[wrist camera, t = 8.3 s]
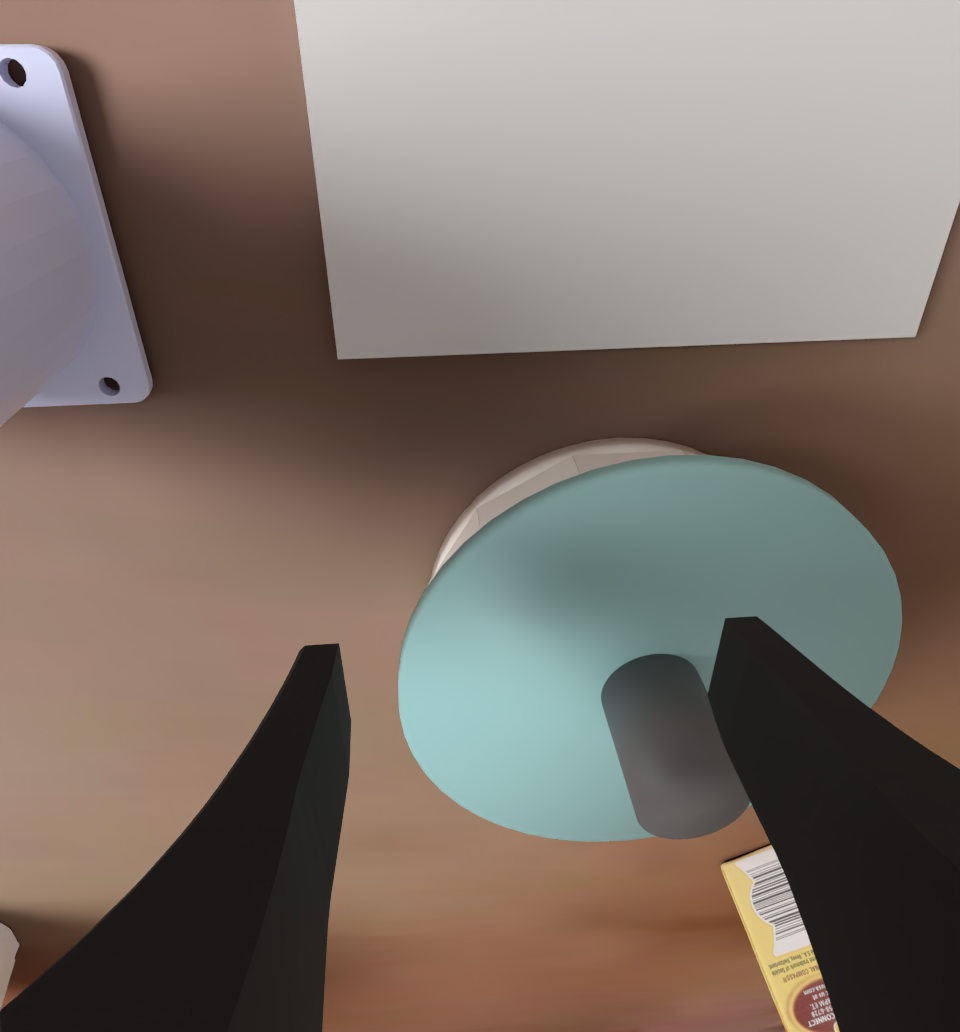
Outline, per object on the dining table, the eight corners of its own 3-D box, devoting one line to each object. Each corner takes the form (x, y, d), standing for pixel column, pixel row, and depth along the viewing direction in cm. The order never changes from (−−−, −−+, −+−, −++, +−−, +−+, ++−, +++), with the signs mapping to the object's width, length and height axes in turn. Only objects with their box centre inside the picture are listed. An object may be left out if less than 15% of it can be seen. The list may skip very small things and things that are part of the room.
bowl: (436, 724, 28) (441, 829, 24) (419, 446, 21) (422, 531, 17) (737, 702, 28) (788, 800, 25) (810, 428, 22) (894, 504, 18)
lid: (390, 823, 23) (387, 966, 20) (410, 439, 16) (411, 553, 12) (790, 816, 25) (855, 947, 21) (974, 468, 18) (1124, 575, 14)
